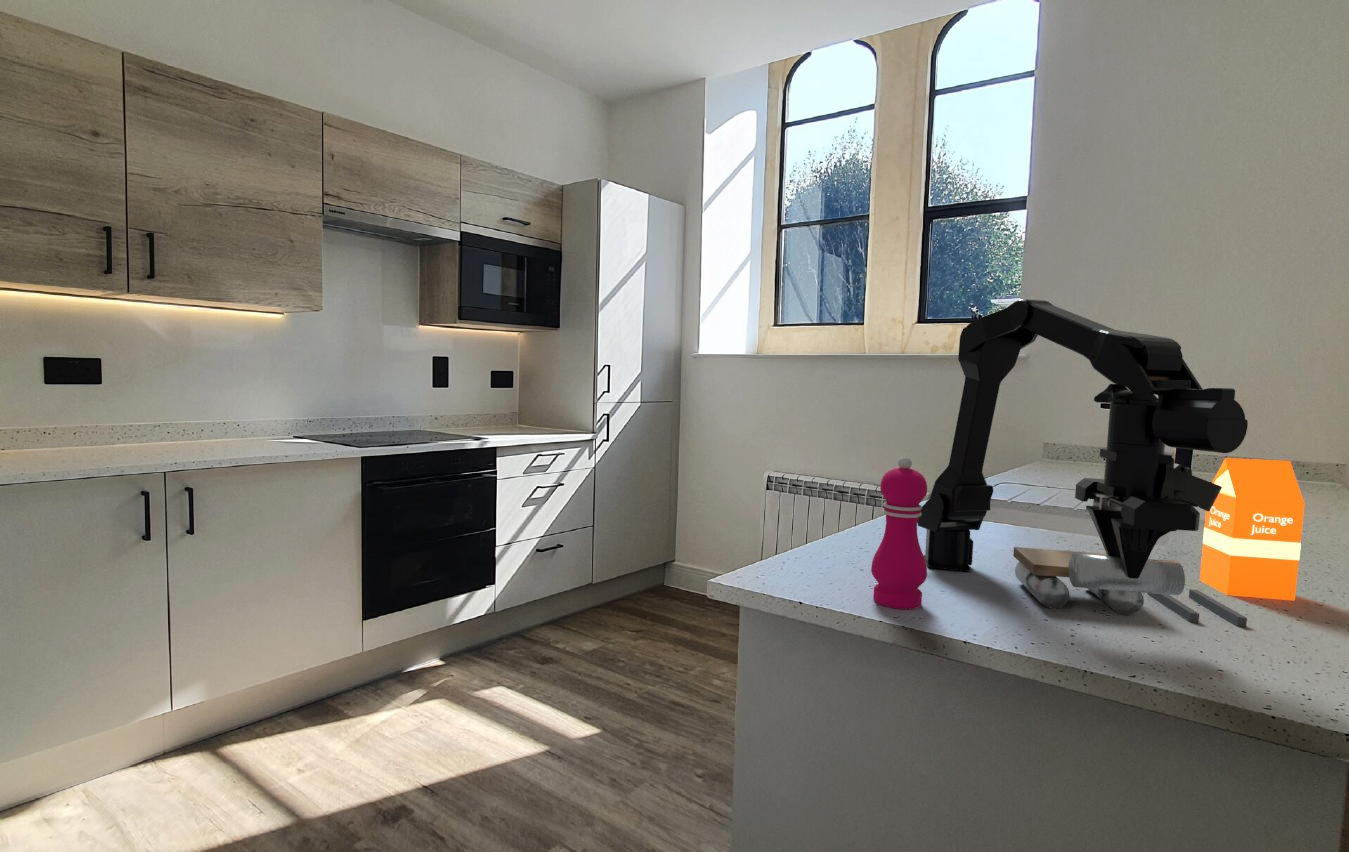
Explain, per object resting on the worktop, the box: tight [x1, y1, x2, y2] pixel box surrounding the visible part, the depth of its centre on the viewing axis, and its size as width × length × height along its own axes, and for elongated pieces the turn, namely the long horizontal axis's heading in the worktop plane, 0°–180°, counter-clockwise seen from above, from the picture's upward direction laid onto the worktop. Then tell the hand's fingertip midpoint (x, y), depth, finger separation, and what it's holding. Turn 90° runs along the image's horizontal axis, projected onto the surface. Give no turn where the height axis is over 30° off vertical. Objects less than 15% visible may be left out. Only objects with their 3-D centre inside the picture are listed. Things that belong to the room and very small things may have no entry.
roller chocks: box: [1146, 588, 1248, 628], centre depth 95 cm, size 6×12×1 cm, turn 168°
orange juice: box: [1199, 457, 1306, 601], centre depth 105 cm, size 8×9×20 cm
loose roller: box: [1068, 554, 1186, 596], centre depth 83 cm, size 11×4×4 cm, turn 79°
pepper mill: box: [870, 456, 928, 610], centre depth 94 cm, size 7×7×20 cm
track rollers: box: [1014, 561, 1145, 616], centre depth 98 cm, size 13×11×4 cm
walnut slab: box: [1012, 546, 1107, 578], centre depth 98 cm, size 14×10×1 cm
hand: (1124, 572), depth 83 cm, fingers closed on loose roller, 4 cm apart
